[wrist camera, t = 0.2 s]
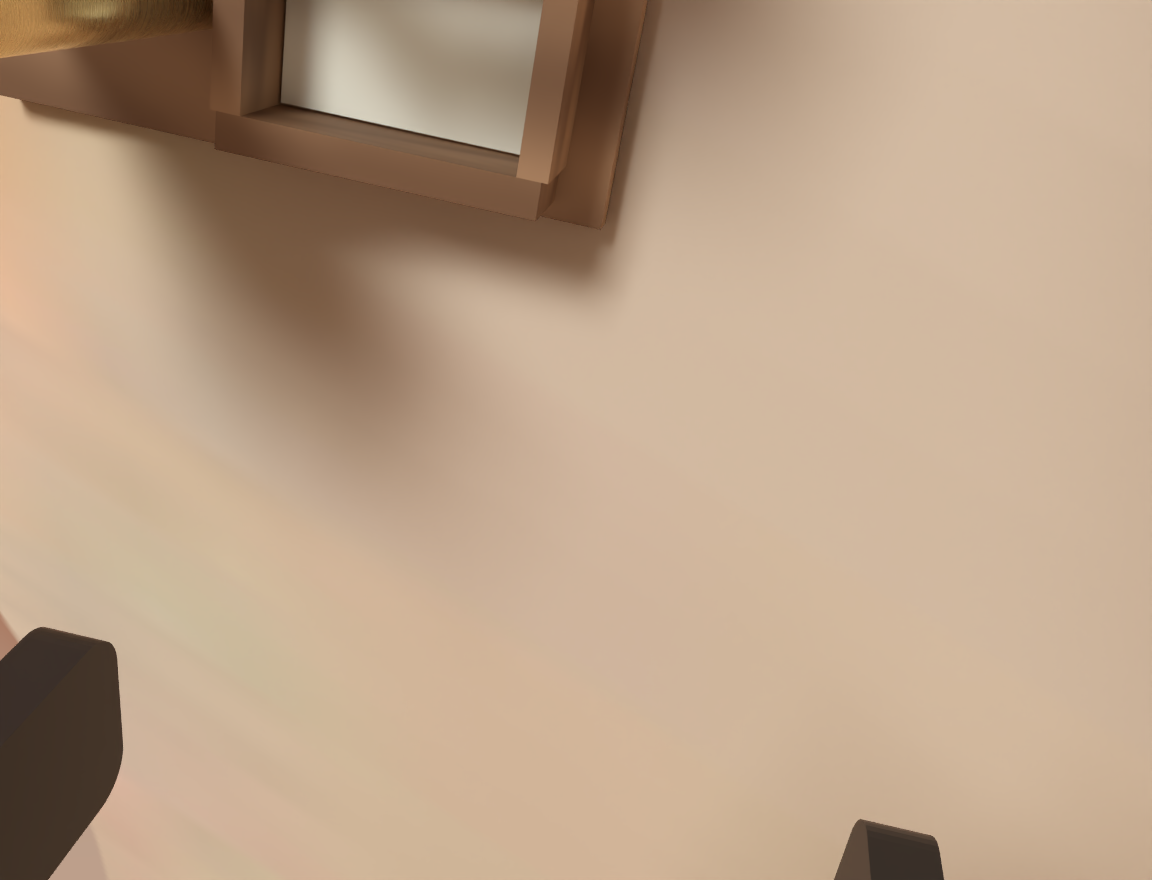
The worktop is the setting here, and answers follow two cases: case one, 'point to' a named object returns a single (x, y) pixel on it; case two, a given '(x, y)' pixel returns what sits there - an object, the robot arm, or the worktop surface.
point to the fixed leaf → (94, 22)
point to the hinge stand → (383, 93)
